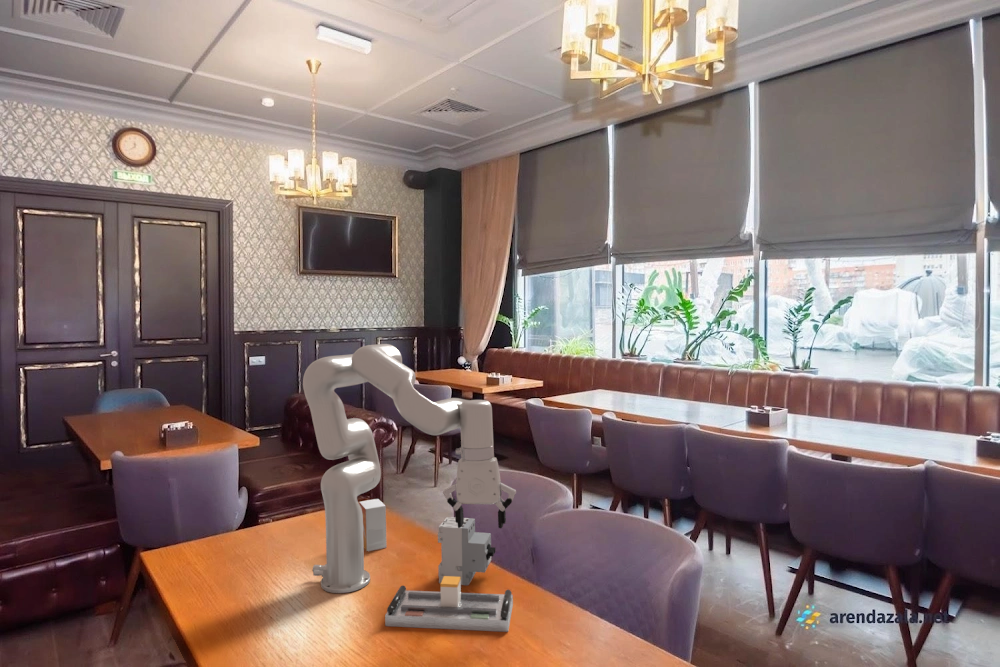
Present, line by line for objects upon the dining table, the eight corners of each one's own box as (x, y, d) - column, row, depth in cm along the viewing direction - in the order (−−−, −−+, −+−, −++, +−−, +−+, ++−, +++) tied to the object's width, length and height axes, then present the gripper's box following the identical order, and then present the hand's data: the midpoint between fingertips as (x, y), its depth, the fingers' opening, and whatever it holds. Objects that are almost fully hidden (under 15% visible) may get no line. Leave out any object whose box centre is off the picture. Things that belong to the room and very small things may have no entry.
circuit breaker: (491, 587, 150) (490, 529, 149) (438, 582, 152) (437, 526, 152) (497, 574, 157) (496, 519, 156) (446, 570, 160) (446, 516, 159)
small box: (359, 542, 180) (358, 501, 180) (379, 539, 183) (378, 498, 183) (366, 552, 173) (365, 508, 173) (387, 547, 176) (386, 505, 176)
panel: (385, 626, 131) (385, 608, 131) (400, 600, 143) (399, 583, 143) (508, 631, 128) (507, 613, 128) (512, 604, 140) (512, 588, 140)
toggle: (440, 607, 134) (440, 583, 134) (444, 598, 138) (444, 576, 138) (457, 608, 134) (457, 584, 133) (460, 599, 138) (460, 576, 137)
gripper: (437, 457, 133) (440, 531, 133) (512, 457, 130) (515, 532, 131) (446, 450, 141) (449, 520, 141) (516, 449, 138) (519, 521, 138)
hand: (480, 526), depth 136 cm, fingers open, 9 cm apart
